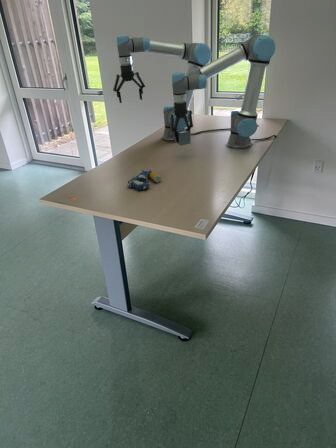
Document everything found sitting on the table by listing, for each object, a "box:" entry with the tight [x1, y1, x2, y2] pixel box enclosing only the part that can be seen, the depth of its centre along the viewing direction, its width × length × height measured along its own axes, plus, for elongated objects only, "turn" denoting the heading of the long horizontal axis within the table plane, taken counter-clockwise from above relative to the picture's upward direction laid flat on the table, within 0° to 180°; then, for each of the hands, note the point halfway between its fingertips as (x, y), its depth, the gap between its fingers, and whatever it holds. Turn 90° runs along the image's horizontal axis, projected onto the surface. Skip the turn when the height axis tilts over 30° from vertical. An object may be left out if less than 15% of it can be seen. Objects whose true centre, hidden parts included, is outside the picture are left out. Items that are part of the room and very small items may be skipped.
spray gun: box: [126, 169, 162, 191], centre depth 181 cm, size 21×4×15 cm
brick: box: [174, 127, 191, 146], centre depth 206 cm, size 7×9×7 cm
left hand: (130, 101), depth 214 cm, fingers open, 13 cm apart
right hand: (182, 140), depth 207 cm, fingers closed on brick, 7 cm apart
